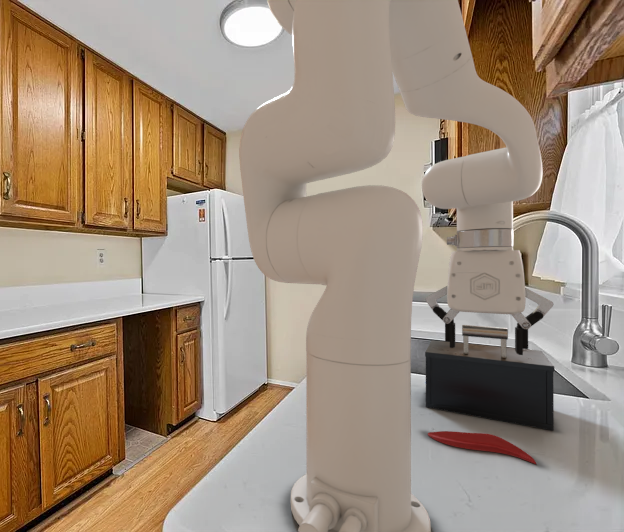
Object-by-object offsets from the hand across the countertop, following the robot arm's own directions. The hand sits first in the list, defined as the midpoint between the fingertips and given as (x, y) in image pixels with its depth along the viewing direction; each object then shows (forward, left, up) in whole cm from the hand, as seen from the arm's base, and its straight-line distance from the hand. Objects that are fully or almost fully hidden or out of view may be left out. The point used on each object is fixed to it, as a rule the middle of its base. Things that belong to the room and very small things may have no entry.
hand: (484, 349), depth 60 cm
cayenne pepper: (-13, +1, -11) cm, 17 cm away
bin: (+5, 0, -11) cm, 12 cm away
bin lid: (+4, 0, -2) cm, 5 cm away
